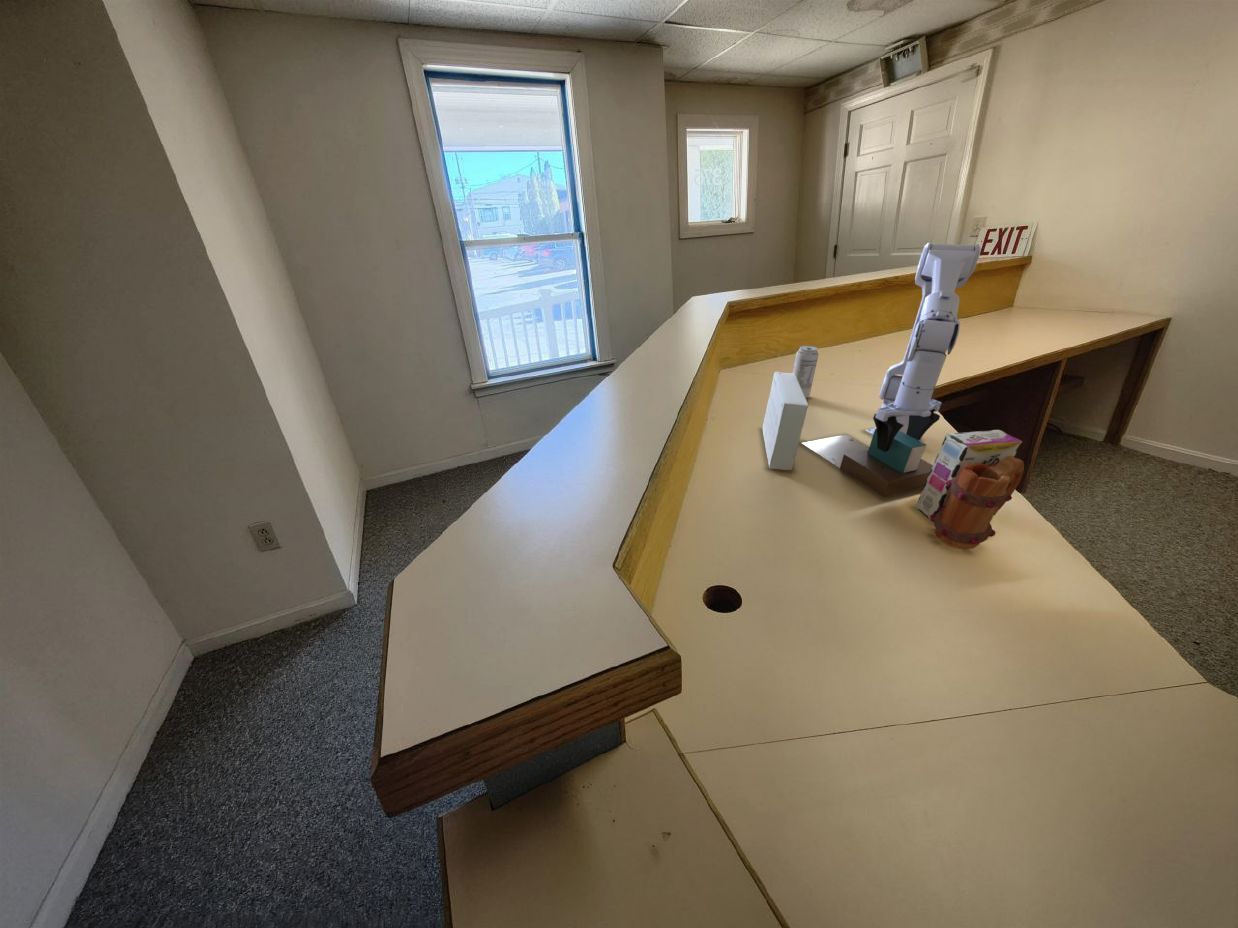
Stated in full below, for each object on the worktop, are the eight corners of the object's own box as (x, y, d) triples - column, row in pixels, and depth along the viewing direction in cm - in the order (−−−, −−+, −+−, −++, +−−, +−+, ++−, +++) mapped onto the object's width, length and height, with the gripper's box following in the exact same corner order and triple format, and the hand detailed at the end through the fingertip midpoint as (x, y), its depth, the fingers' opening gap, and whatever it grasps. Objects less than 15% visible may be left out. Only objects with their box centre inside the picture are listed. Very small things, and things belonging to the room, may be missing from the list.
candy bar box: (933, 524, 84) (967, 445, 75) (913, 508, 88) (944, 432, 80) (985, 517, 85) (1024, 440, 77) (963, 502, 90) (998, 427, 81)
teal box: (881, 450, 100) (889, 425, 97) (917, 470, 93) (927, 444, 90) (867, 453, 99) (874, 428, 96) (902, 473, 91) (912, 447, 88)
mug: (959, 562, 75) (997, 485, 67) (914, 533, 81) (944, 461, 74) (1014, 539, 80) (1055, 465, 72) (967, 513, 86) (1000, 444, 79)
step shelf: (846, 435, 115) (850, 421, 113) (934, 485, 95) (941, 469, 93) (800, 444, 111) (804, 429, 109) (883, 498, 91) (888, 481, 89)
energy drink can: (806, 393, 141) (816, 345, 133) (811, 400, 135) (822, 351, 128) (786, 392, 141) (795, 344, 133) (790, 400, 136) (800, 350, 128)
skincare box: (794, 472, 100) (809, 405, 92) (768, 469, 101) (781, 403, 93) (783, 430, 118) (795, 371, 110) (761, 429, 119) (771, 370, 111)
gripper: (906, 396, 82) (884, 461, 89) (964, 386, 86) (939, 449, 93) (875, 383, 88) (857, 445, 94) (931, 375, 92) (910, 435, 99)
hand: (896, 446), depth 94 cm, fingers open, 7 cm apart
